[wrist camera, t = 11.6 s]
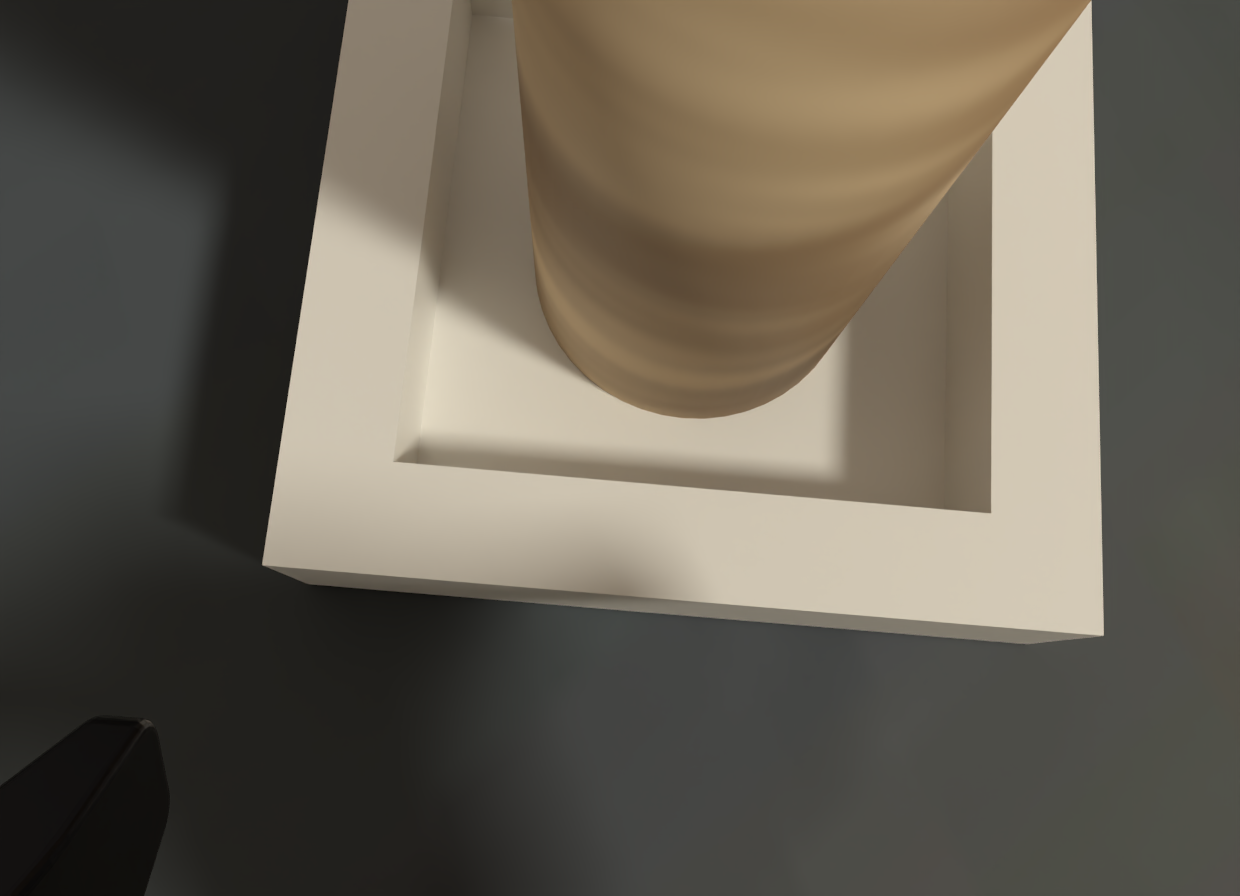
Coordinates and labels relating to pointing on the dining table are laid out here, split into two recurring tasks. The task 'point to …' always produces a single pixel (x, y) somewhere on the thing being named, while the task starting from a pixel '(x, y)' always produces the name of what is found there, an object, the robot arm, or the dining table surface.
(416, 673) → the dining table surface
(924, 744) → the dining table surface
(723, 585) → the tool holder
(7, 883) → the robot arm
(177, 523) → the dining table surface
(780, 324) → the wooden tool handle
